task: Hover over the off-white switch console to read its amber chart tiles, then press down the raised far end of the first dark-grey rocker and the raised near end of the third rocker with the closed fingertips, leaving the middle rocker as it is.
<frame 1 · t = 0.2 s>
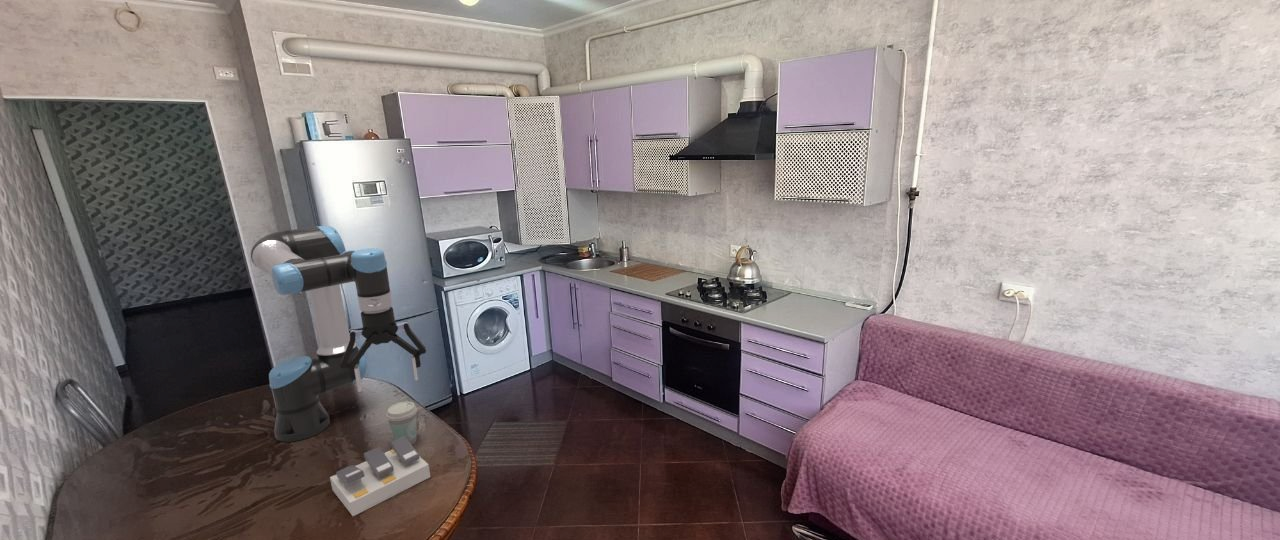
hand: (388, 384, 136), 27 cm above the table, fingers open, 13 cm apart
coffee cup: (406, 442, 157), on the table
switch b: (378, 461, 136), point 7 cm above the table, hinge at 15.0°
switch c: (404, 450, 141), point 7 cm above the table, hinge at 15.0°
console: (382, 483, 138), on the table
switch a: (350, 473, 132), point 7 cm above the table, hinge at -15.0°
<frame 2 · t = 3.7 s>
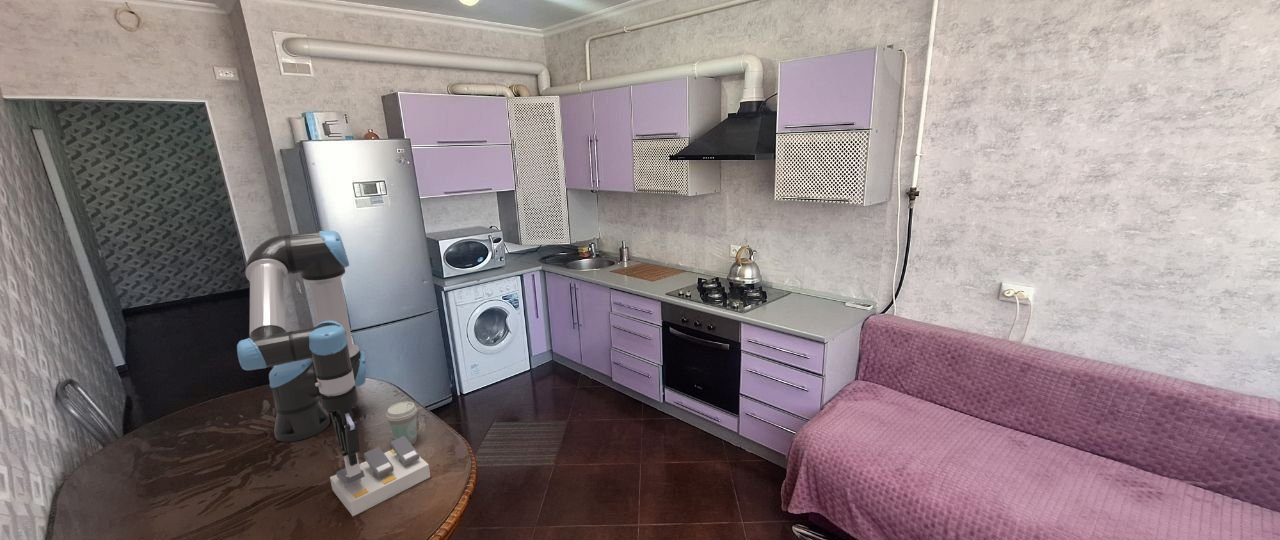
hand: (354, 473, 129), 9 cm above the table, fingers closed
switch a: (350, 473, 132), point 7 cm above the table, hinge at -14.9°, touching gripper
everything else where it was.
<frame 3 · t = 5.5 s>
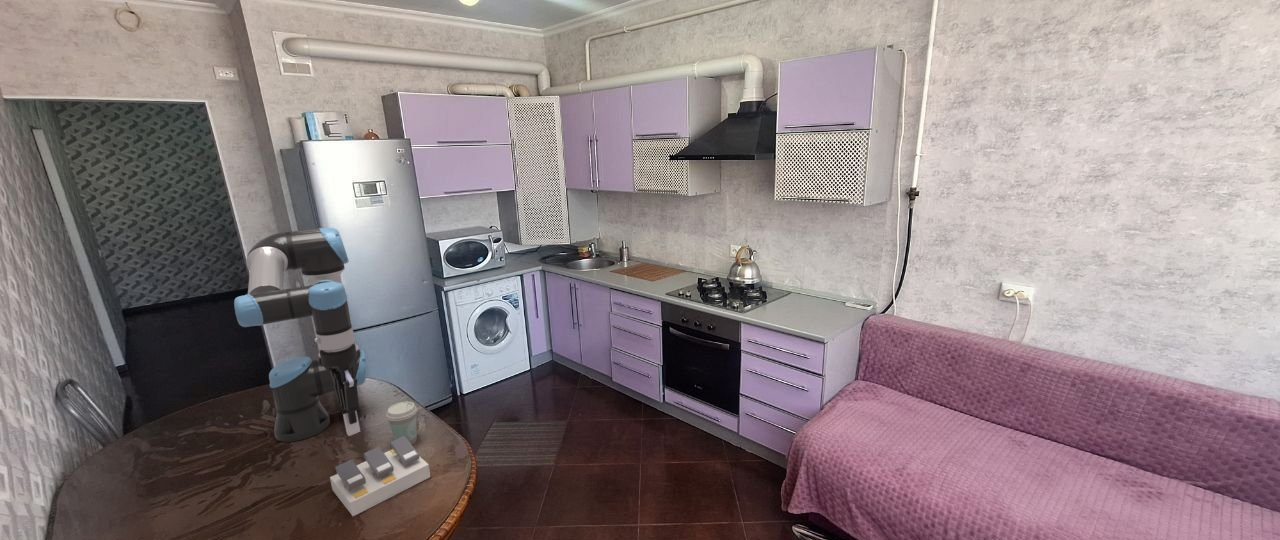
hand: (353, 432, 128), 19 cm above the table, fingers closed
switch a: (350, 474, 132), point 7 cm above the table, hinge at 8.9°
everything else where it was.
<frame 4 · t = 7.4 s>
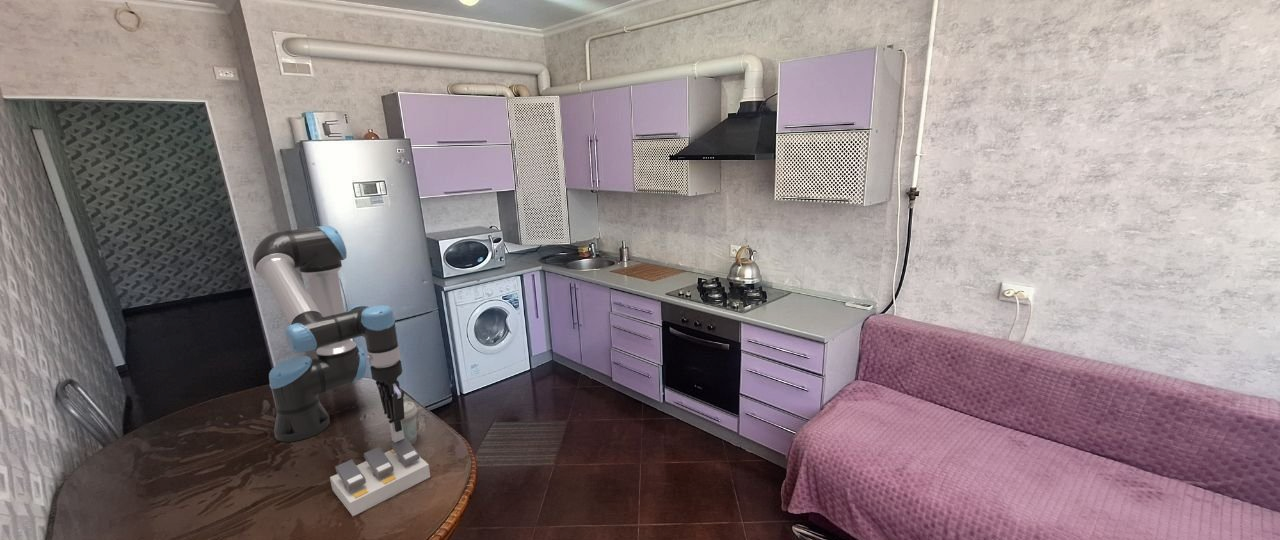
hand: (398, 439, 143), 9 cm above the table, fingers closed
switch c: (404, 450, 141), point 7 cm above the table, hinge at 14.9°, touching gripper
switch a: (350, 474, 132), point 7 cm above the table, hinge at 9.4°
everything else where it was.
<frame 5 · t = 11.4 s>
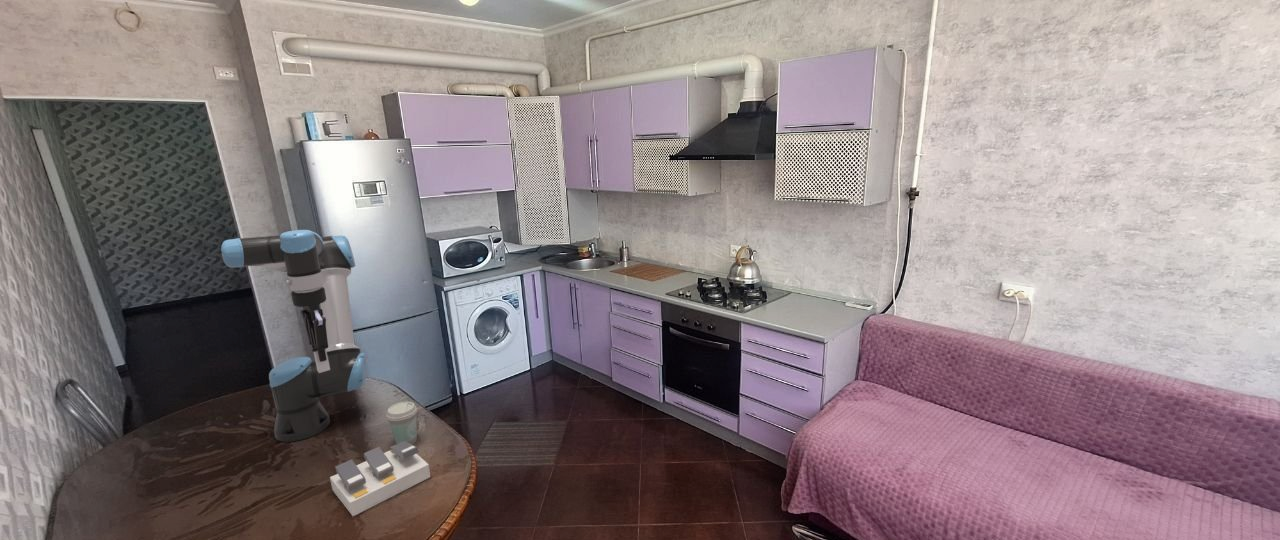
hand: (323, 370, 140), 29 cm above the table, fingers closed
switch c: (404, 449, 142), point 7 cm above the table, hinge at -11.2°
everything else where it was.
at the end: switch a at +9° (first picture: -15°); switch c at -11° (first picture: +15°); switch b at +15° (first picture: +15°) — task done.
